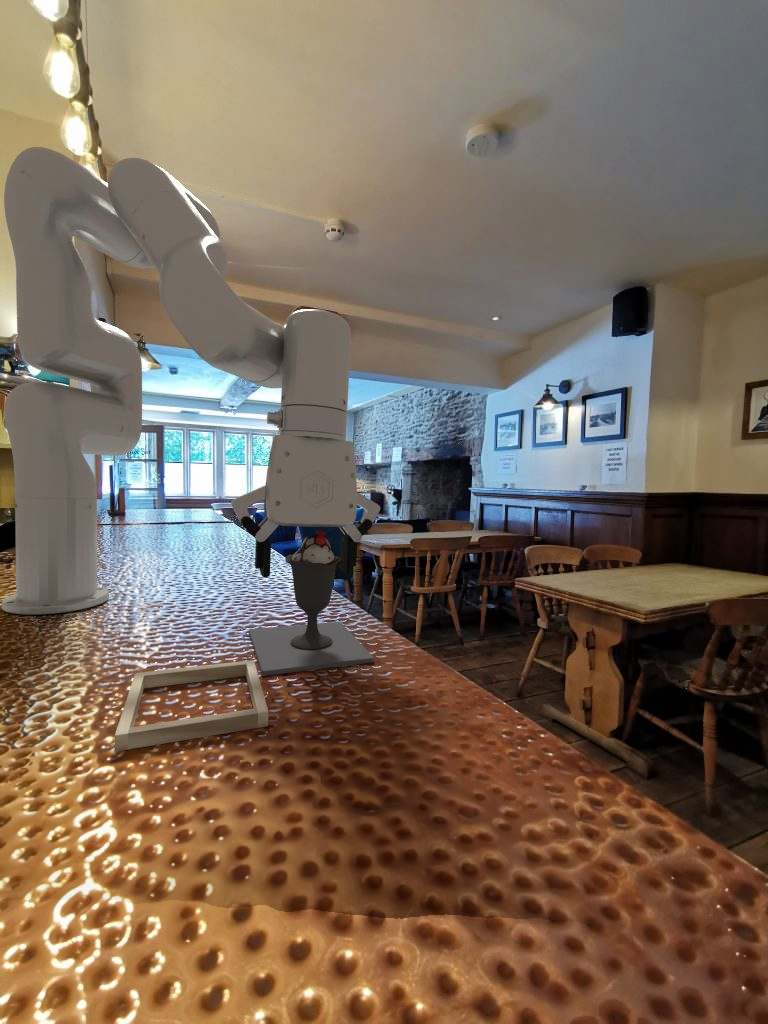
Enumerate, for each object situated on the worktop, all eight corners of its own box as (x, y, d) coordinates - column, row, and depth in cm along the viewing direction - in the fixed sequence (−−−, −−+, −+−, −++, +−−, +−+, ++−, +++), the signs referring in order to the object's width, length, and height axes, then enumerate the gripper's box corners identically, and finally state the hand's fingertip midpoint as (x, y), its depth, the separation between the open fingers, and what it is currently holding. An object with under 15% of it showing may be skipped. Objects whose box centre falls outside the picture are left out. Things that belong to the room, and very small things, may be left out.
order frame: (135, 685, 41) (135, 673, 41) (253, 671, 45) (253, 660, 45) (114, 751, 31) (114, 735, 31) (268, 726, 35) (268, 711, 35)
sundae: (330, 655, 49) (335, 520, 48) (273, 649, 50) (277, 516, 49) (346, 636, 55) (351, 516, 54) (295, 630, 56) (299, 513, 55)
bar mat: (249, 632, 56) (249, 629, 56) (339, 625, 61) (339, 621, 61) (262, 676, 44) (262, 671, 44) (373, 662, 49) (374, 657, 49)
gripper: (236, 415, 44) (231, 584, 45) (395, 431, 51) (386, 578, 52) (232, 422, 51) (227, 568, 52) (372, 436, 58) (364, 566, 59)
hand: (306, 573), depth 52 cm, fingers open, 9 cm apart
